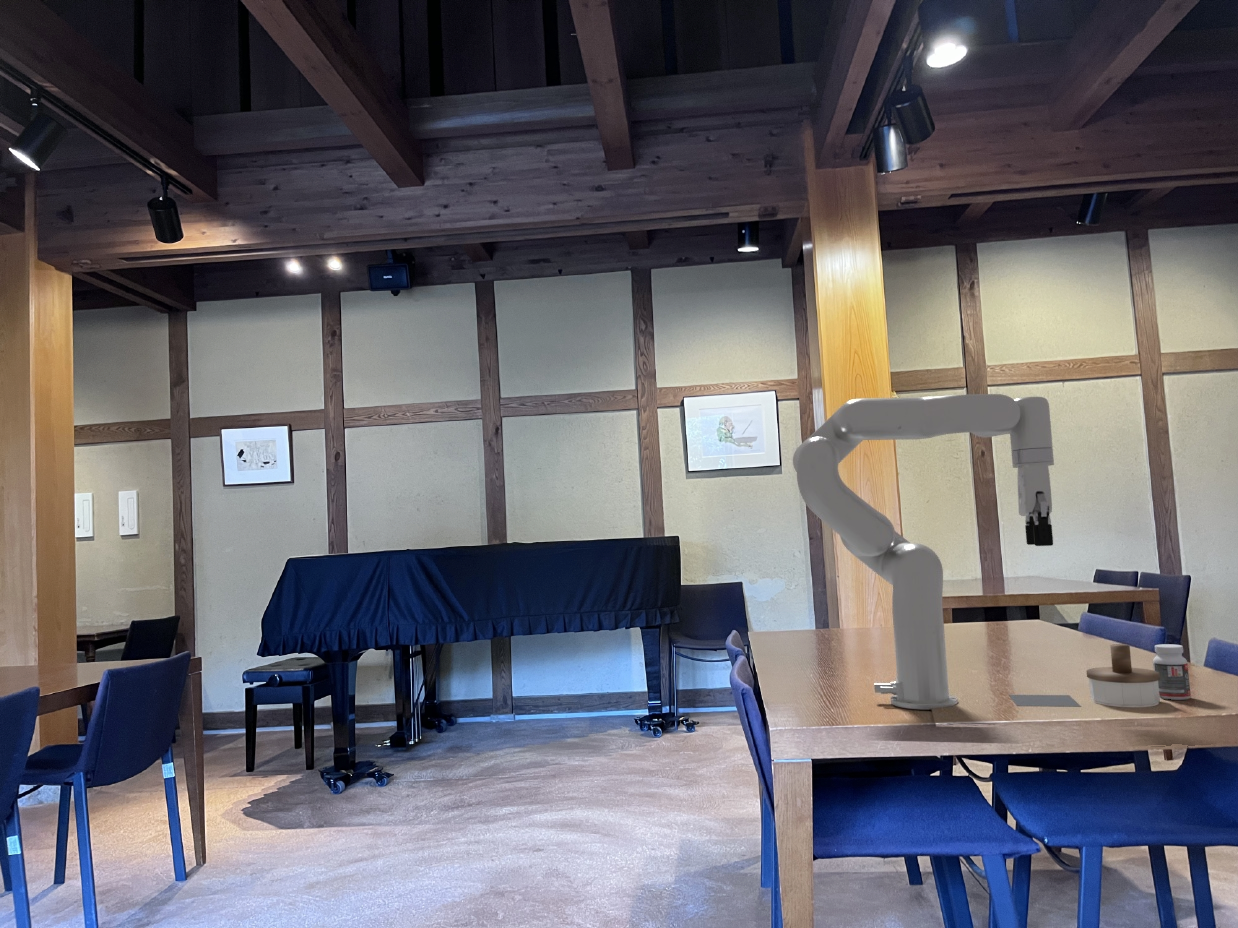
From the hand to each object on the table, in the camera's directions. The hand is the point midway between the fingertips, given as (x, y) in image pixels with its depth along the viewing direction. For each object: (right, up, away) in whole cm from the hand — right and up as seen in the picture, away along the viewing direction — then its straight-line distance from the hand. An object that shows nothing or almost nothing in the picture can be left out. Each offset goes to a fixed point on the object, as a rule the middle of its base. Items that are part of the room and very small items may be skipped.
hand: (1039, 545), depth 175 cm
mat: (-1, -30, -5) cm, 31 cm away
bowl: (+12, -29, -9) cm, 33 cm away
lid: (+12, -24, -8) cm, 28 cm away
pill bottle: (+24, -29, -5) cm, 38 cm away
